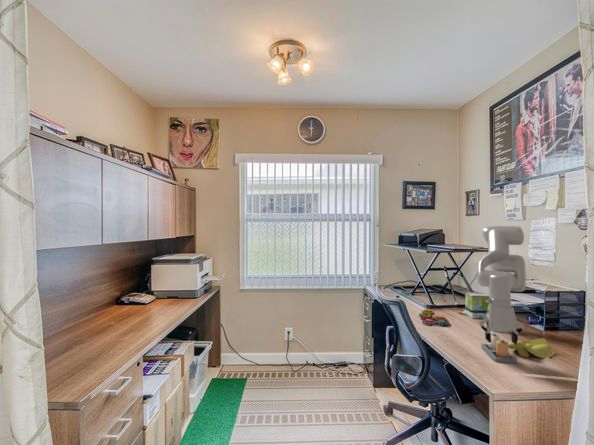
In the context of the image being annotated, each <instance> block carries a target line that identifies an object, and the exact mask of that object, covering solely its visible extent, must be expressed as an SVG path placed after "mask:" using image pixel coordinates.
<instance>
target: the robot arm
mask: <svg viewBox="0 0 594 445" xmlns="http://www.w3.org/2000/svg"><path fill="white" fill-rule="evenodd" d="M482 235H483V238H484V240H485V242H486V243H487V253H486V254H485V255H483V257H481V259H479V261H478V263H477V270H476V271H477V272H476V273H477V274H476V276H477V278H476V279H477V283H478V284H479V286H482V287H486V288H487V287H488V293H489V297H490V298H489V299H488V300H486V302H487V303H489V305H488V309H487V318H482V319H480V320H479V321H478V322H477V324H478V325H479V327H480V328H481V329H482V330H483V331H484V336H485V337H484V338H485V340H486V341H487V343H488V342H489V343H491V332H492V331H493V332H498V333H502V334H503V333H504V334H505V333H506V334H511V343H512V344H517V343H518V342H519V338H518V336H519V334H520V333H521V332H522V331H523V330H524V328H525V324H524V323H522V322H521V321H518V320H517V317H516V313H515V307H514V306H512V297H511V296H512V293H511V292H517V293H518V292H519V293H520V292H524V291H525V290H526V286H527V280H526V262H525V259H524V257H523V256H521V255H519V254H510V245H512V246H521V245H523V244H524V241H525V234H524V231H523V229H522V227H521V226H518V225H517V226H516V225H514V226H513V225H505V226H504V225H503V226H502V225H501V226H499V225H497V226H492V225H491V226H486V227H484V228H483V229H482ZM488 266H489V267H490V269H491V270H489V269H487V270H486V269H485V268H487V267H488ZM484 324H486V326H484ZM517 325H518V326H517Z"/></svg>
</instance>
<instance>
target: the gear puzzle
mask: <svg viewBox="0 0 594 445" xmlns="http://www.w3.org/2000/svg"><path fill="white" fill-rule="evenodd" d="M418 316H419V319H420V320H421V322H422V324H423V326H426V327H427V326H428V327H429V326H433V327H446V328H451V327H452V324H451V323H450V321H449V320H448V318H446V316H443V315H440V314H439V315H438V314H436V313H435V311H434V310H432V309H429V308H425V309H423V310H421V313H418Z"/></svg>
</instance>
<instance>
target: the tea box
mask: <svg viewBox="0 0 594 445" xmlns="http://www.w3.org/2000/svg"><path fill="white" fill-rule="evenodd" d="M464 296H465V298H464V299H465V302H464V304H465V306H464V307H465V308H464V309H465V310H464V311H465V312H464V314H465V313H466V314H467V315H466V314H465V315H466V316H468V317H469V318H471V319H485V318H487V309H488V305H489V303H487V302H486V300H488V299H489V298H490V297H489V292H469V291H468V292H467V291H466V292H465V294H464Z"/></svg>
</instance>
